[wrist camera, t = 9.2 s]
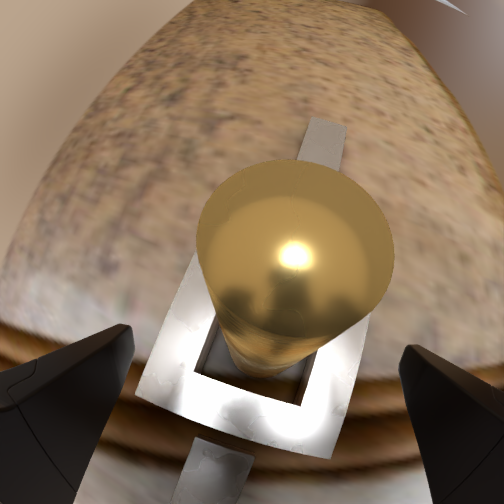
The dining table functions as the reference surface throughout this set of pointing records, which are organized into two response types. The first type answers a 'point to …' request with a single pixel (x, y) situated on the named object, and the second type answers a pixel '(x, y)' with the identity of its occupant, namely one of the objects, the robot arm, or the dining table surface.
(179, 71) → the dining table surface
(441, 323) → the dining table surface
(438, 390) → the robot arm
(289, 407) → the square frame with tiles
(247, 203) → the pin
